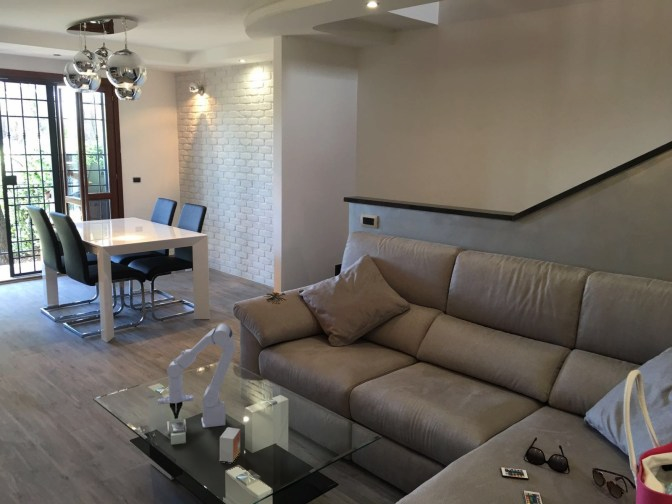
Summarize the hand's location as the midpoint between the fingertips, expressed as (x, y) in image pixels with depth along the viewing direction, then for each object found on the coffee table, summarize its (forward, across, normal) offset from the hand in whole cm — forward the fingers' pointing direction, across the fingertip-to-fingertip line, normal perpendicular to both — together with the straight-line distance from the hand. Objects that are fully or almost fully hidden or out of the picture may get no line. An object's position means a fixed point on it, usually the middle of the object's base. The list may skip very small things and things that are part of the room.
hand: (176, 417), depth 241 cm
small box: (+2, -18, +32) cm, 37 cm away
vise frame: (+2, 0, +10) cm, 10 cm away
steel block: (+2, 0, +13) cm, 13 cm away
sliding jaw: (+2, 0, +8) cm, 8 cm away
